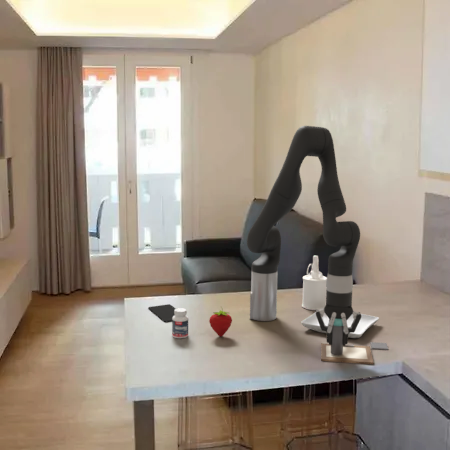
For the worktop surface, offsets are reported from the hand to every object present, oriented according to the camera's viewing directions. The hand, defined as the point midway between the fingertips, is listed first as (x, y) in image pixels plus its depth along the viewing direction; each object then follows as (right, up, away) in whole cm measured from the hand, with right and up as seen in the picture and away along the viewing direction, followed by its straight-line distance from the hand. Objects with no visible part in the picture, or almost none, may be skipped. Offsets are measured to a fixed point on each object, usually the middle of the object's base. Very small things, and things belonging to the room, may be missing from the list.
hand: (337, 344), depth 179 cm
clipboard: (+3, -4, +3) cm, 5 cm away
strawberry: (-35, -1, +17) cm, 39 cm away
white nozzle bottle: (+1, +4, +50) cm, 51 cm away
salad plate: (+6, 0, +27) cm, 27 cm away
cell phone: (-54, +3, +40) cm, 68 cm away
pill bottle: (-48, -1, +17) cm, 51 cm away
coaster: (+15, -3, +9) cm, 18 cm away
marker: (0, -3, 0) cm, 3 cm away
